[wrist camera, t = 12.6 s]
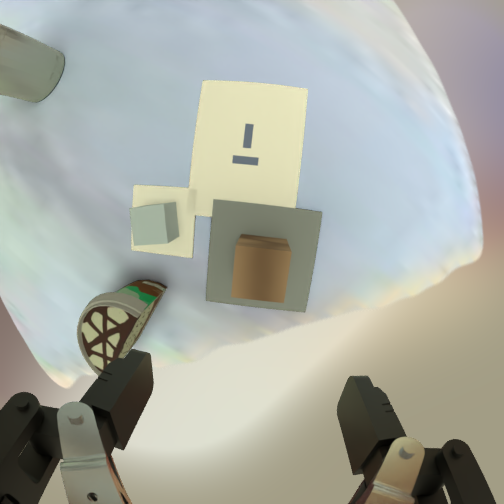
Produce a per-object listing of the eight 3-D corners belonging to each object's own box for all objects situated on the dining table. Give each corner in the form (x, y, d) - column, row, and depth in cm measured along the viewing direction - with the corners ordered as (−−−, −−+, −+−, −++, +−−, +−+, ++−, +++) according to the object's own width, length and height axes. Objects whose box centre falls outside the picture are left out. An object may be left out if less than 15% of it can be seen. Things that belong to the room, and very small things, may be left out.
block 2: (237, 276, 31) (231, 297, 26) (241, 233, 30) (235, 245, 24) (280, 281, 31) (283, 303, 26) (286, 239, 30) (291, 251, 24)
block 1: (148, 238, 31) (134, 245, 27) (144, 205, 30) (129, 208, 26) (179, 236, 31) (167, 243, 27) (175, 201, 30) (163, 204, 26)
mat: (206, 298, 33) (205, 300, 32) (214, 198, 30) (213, 199, 30) (304, 310, 33) (305, 312, 32) (321, 211, 30) (322, 212, 29)
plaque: (132, 249, 32) (131, 250, 32) (134, 184, 30) (133, 184, 30) (192, 257, 32) (192, 258, 32) (197, 188, 30) (197, 188, 30)
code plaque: (187, 214, 31) (186, 214, 30) (203, 81, 27) (202, 80, 27) (292, 225, 30) (293, 226, 30) (307, 89, 27) (307, 89, 26)
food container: (133, 250, 32) (89, 274, 22) (172, 278, 33) (139, 313, 23) (102, 318, 35) (65, 353, 25) (136, 343, 35) (105, 384, 26)
